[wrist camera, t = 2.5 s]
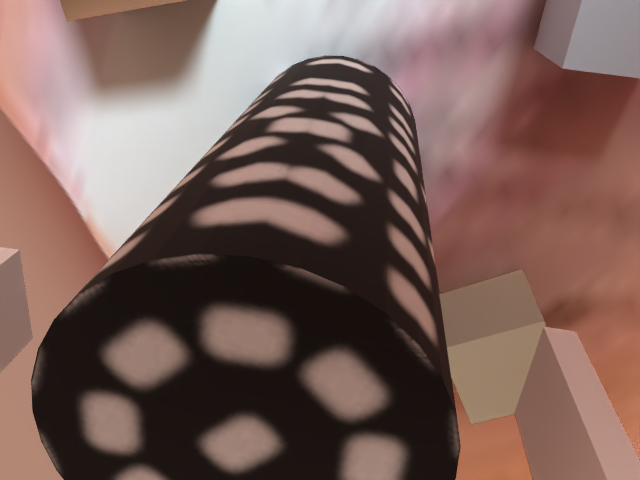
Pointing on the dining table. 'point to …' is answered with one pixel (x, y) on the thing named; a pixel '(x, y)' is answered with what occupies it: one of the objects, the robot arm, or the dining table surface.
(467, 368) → the sage block
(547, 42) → the dusty blue block
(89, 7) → the walnut block
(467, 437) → the dining table surface
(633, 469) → the robot arm
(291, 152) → the spotted tube
